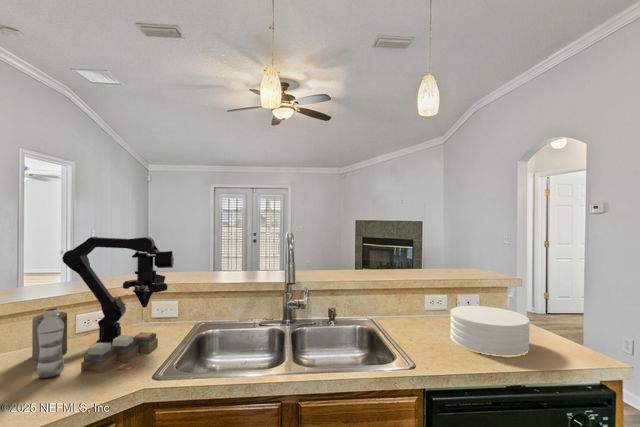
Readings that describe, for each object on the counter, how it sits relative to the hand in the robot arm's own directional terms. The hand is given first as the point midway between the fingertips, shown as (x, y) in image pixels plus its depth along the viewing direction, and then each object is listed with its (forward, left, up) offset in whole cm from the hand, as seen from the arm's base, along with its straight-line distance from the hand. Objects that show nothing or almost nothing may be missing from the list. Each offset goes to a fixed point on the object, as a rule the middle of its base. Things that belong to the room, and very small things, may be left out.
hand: (144, 307), depth 141 cm
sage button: (-1, -28, -8) cm, 29 cm away
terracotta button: (+6, -13, -9) cm, 17 cm away
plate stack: (+137, -5, -12) cm, 138 cm away
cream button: (+3, -21, -7) cm, 22 cm away
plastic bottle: (-12, -34, -12) cm, 38 cm away
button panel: (+2, -21, -12) cm, 24 cm away
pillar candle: (-24, -18, -12) cm, 32 cm away
